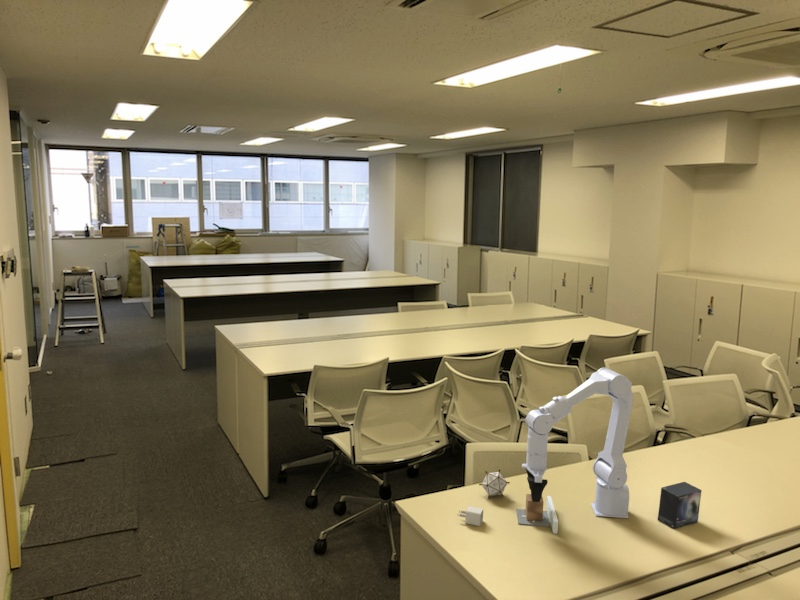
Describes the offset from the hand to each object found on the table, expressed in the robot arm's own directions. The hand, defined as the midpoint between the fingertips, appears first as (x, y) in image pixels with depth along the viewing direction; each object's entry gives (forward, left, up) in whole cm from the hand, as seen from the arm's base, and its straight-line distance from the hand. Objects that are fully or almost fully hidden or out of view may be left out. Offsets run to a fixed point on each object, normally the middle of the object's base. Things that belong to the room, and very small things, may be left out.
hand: (534, 495), depth 183 cm
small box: (-43, -5, -8) cm, 44 cm away
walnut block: (0, 0, -7) cm, 7 cm away
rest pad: (0, 0, -7) cm, 7 cm away
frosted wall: (-5, 0, -7) cm, 9 cm away
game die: (+11, -13, -7) cm, 19 cm away
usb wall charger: (+19, +5, -8) cm, 21 cm away
